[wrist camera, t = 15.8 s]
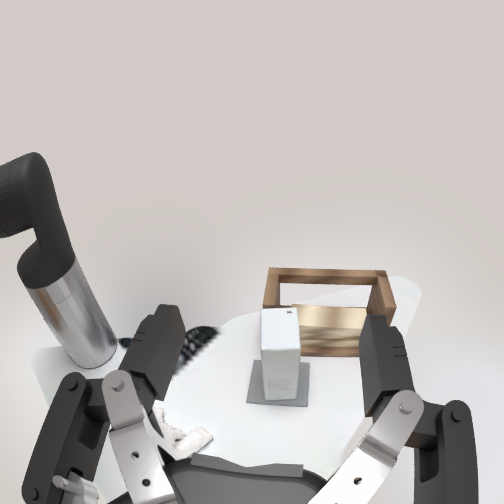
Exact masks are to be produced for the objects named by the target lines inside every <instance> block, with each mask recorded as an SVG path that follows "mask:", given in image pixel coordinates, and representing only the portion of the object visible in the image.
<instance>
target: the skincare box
mask: <svg viewBox="0 0 504 504" xmlns="http://www.w3.org/2000/svg"><path fill="white" fill-rule="evenodd" d="M260 332H261V349H260V350H261V362H262V373H263V384H264V394H265V400H290V399H296V396H297V386H298V376H299V366H300V352H301V344H300V333H299V321H298V312H297V308H296V307H293V308H271V309H261V317H260Z"/></svg>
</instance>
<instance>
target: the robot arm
mask: <svg viewBox="0 0 504 504" xmlns="http://www.w3.org/2000/svg"><path fill="white" fill-rule="evenodd" d="M30 228H34V231H35V234H36V238H37V240H36V241H35V242H34V243H33V244H32V245H31V246H30V247H29V248H28V249H27V250H26V251H25V252H24V253H23V254H22V256H21V257H20V259H19V261H18V264H17V271H18V274H19V276H20V278H21V280H22V282H23V283H24V285H25V287H26V289H27V291H28V293H29V295H30V296H31V298H32V299H33V301H34V303H35V304H36V306H37V308H38V309H39V311H40V312H41V314H42V316H43V317H44V320H45V322H46V323H47V325H48V326H49V328H50V329H51V331H52V332H53V334H54V335H55V336H56V338H57V339H58V341H59V342H60V343H61V345H62V346H63V348H64V349H65V351H66V352H67V353H68V355H70V356H71V357H72V359H73V360H74V361H75V363H76V364H77V365H79V366H80V367H83V368H95V367H98V366H100V365H102V364H104V363H105V362H107V361H108V360H109V359H110V358H111V357H112V355H113V354H114V352H115V349H116V346H117V339H116V336H115V334H114V332H113V331H112V329H111V328H110V325H109V324H108V322H107V320H106V318H105V316H104V314H103V312H102V310H101V308H100V306H99V305H98V303H97V301H96V299H95V297H94V295H93V293H92V290H91V288H90V286H89V284H88V282H87V280H86V278H85V276H84V274H83V271H82V269H81V267H80V265H79V263H78V260H77V258H76V256H75V253H74V251H73V249H72V246H71V242H70V239H69V236H68V232H67V229H66V226H65V223H64V220H63V217H62V215H61V211H60V208H59V204H58V200H57V196H56V192H55V189H54V184H53V181H52V177H51V174H50V171H49V168H48V165H47V163H46V161H45V160H44V158H43V157H42V156H41V155H40V154H39V153H36V152H32V153H28V154H26V155H23V156H21V157H19V158H16V159H14V160H12V161H10V162H8V163H6V164H4V165H1V166H0V238H6V237H10V236H12V235H15V234H18V233H20V232H23V231H25V230H28V229H30ZM185 335H186V331H185V326H184V323H183V320H182V317H181V314H180V311H179V308H178V306H176V305H166V304H160V305H159V306H158V308H157V310H156V312H155V314H154V315H148V316H147V317H146V318H145V319H144V320H143V321H142V322H141V323H140V325H139V327H138V329H137V331H136V334H135V335H134V337H133V341H131V344H130V346H129V348H128V350H127V352H126V354H125V356H124V358H123V360H122V362H121V364H120V367H119V368H118V370H115V371H112V372H110V373H109V374H107V375H106V376H105V378H102V379H86V378H85V377H84V376H83V375H82V374H80V373H78V372H73V373H70V374H68V375H66V376H65V377H64V378H63V380H62V381H61V384H60V386H59V388H58V390H57V392H56V395H55V397H54V399H53V402H52V404H51V406H50V409H49V411H48V414H47V416H46V419H45V421H44V423H43V426H42V429H41V431H40V434H39V436H38V439H37V442H36V445H35V447H34V450H33V453H32V456H31V459H30V462H29V465H28V468H27V472H26V475H25V478H24V481H23V485H22V497H23V499H24V501H25V503H26V504H98V503H97V500H98V498H99V495H98V493H97V489H96V487H95V485H94V484H93V480H94V476H95V473H96V469H97V466H98V462H99V459H100V455H101V452H102V449H103V445H104V442H105V439H106V436H107V432H108V429H109V426H110V423H111V426H112V429H111V430H109V437H110V441H111V444H112V447H113V450H114V453H115V456H116V459H117V462H118V465H119V468H120V471H121V473H122V476H123V479H124V481H125V484H126V487H127V489H128V491H127V492H126V493H124V494H122V495H121V496H119V497H118V498H116V499H114V500H113V501H111V502H109V503H108V504H366V503H367V502H368V500H369V499H370V498H371V497H372V495H373V494H374V493H375V492H376V490H377V489H378V488H379V486H380V485H381V484H382V482H383V481H384V480H385V478H386V477H387V475H388V474H389V473H390V471H391V470H392V468H393V467H394V465H395V463H396V461H397V456H398V454H399V453H400V451H401V449H402V448H403V446H407V447H412V448H414V459H415V460H414V463H415V464H414V465H415V478H414V504H478V469H477V455H476V445H475V438H474V430H473V423H472V417H471V411H470V409H469V407H468V406H467V405H466V403H464V402H462V401H460V400H453V401H450V402H449V403H447V404H446V405H445V406H444V405H438V404H433V403H429V402H426V401H424V400H422V398H421V397H420V396H419V395H418V394H417V393H416V392H415V389H414V386H413V381H412V376H411V371H410V366H409V362H408V357H407V353H406V349H405V345H404V340H403V336H402V335H401V333H400V332H399V331H398V329H397V328H396V326H391V327H388V324H387V320H386V316H385V315H384V314H367V315H366V318H365V321H364V325H363V328H362V331H361V334H360V338H359V357H360V366H361V376H362V386H363V398H364V412H365V417H373V425H372V426H371V428H370V429H369V431H368V432H367V433H366V434H365V436H364V437H363V438H362V440H361V441H360V442H359V444H358V445H357V446H356V447H355V449H354V450H353V451H352V452H351V454H350V455H349V456H348V457H347V459H346V460H345V461H344V462H343V463H342V464H341V465H340V467H339V468H338V469H337V470H336V471H335V472H334V473H333V475H332V476H331V477H330V478H329V479H328V480H327V481H326V480H325V479H324V478H322V477H321V476H319V475H318V474H316V473H314V472H311V471H308V470H305V469H303V465H298V464H269V465H262V466H255V467H243V466H240V465H237V464H235V463H232V462H229V461H227V460H224V459H222V458H219V457H214V456H208V455H202V454H197V453H193V455H192V458H183V459H180V460H179V459H178V457H177V455H176V453H175V451H174V450H173V448H172V447H171V445H170V444H169V442H168V440H167V438H166V436H165V434H164V431H163V429H162V427H161V424H160V422H159V419H158V417H157V415H156V412H155V410H154V407H153V404H154V401H155V399H156V400H160V401H164V398H165V395H166V392H167V389H168V386H169V383H170V381H171V378H172V375H173V372H174V369H175V366H176V363H177V360H178V358H179V355H180V352H181V349H182V346H183V344H184V341H185Z"/></svg>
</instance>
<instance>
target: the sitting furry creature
mask: <svg viewBox="0 0 504 504" xmlns="http://www.w3.org/2000/svg"><path fill="white" fill-rule="evenodd" d="M154 410H155V412H156V415H157V417H158V419H159V422H160V424H161V427H162V429H163V431H164V434H165V436H166V438H167V440H168V442H169V444H170V445H171V447H172V448H173V450H174V451H175V453H176V455H177V457H178V459H179V460H180V459H183V458H187V457H189V456H190V455H192V454H193V453H196V452H197V451H198V450H200V448H201V447H204V446H205V444H206V443H208V442H209V441H210V440H211V439H212V438H213V436H212V435H211V434H210V433H209V432H207V430H206V429H205V428H203V427H199V428H197V429H194V430H193V431H191V432H190V433H188V435H185V434H184V433H183V432H182V430H179V429H178V428H172V426H171V425H169V424H168V423H163V417H162V415H163V409H162V408H161V407H159V406H155V407H154ZM175 440H176V441H177V442H175Z"/></svg>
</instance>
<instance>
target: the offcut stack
mask: <svg viewBox="0 0 504 504" xmlns="http://www.w3.org/2000/svg"><path fill="white" fill-rule="evenodd" d="M293 307H296V308H297V312H298V321H299V333H300V344H301V347H359V338H360V334H361V331H362V328H363V325H364V321H365V318H366V315H367V313H366V308H347V307H329V306H313V305H299V304H292V306H291V308H293Z"/></svg>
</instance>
